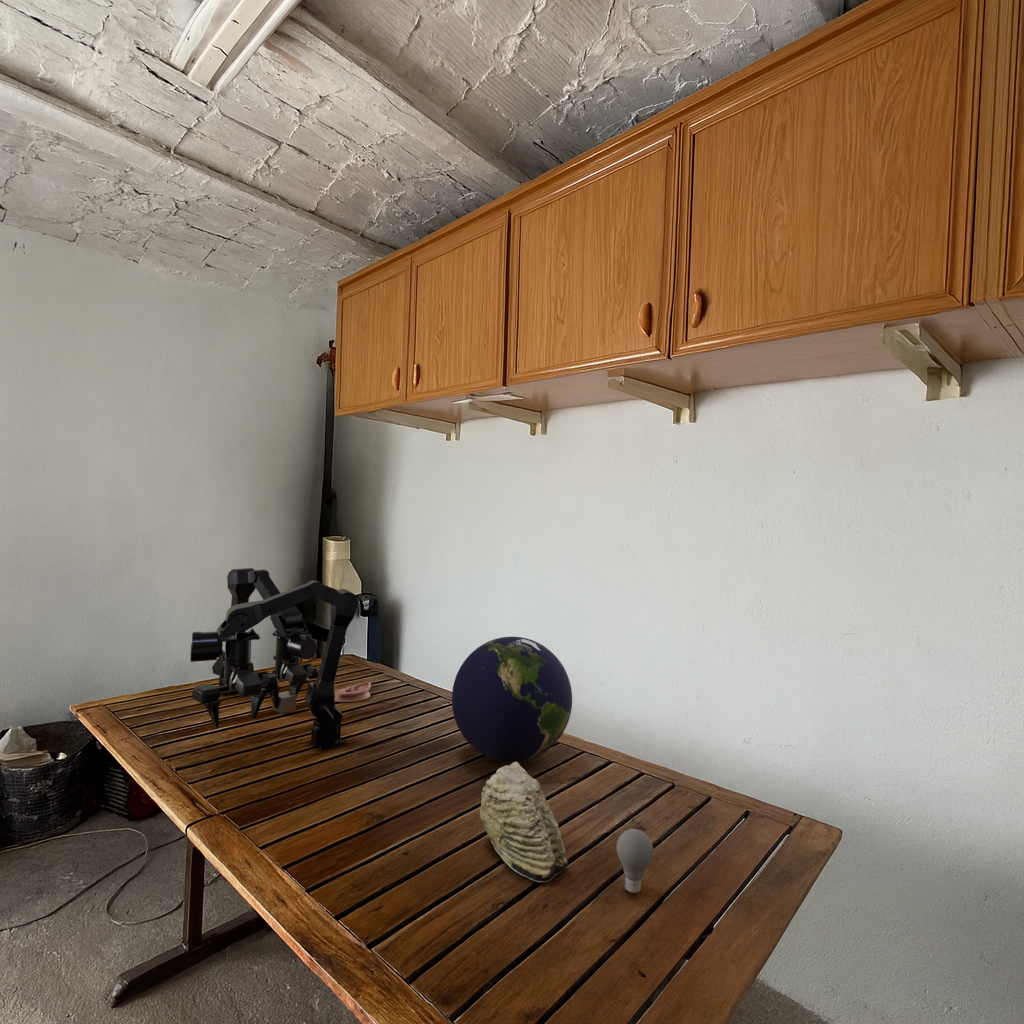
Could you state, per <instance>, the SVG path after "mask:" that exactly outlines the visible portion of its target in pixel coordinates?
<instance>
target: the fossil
mask: <svg viewBox="0 0 1024 1024" xmlns="http://www.w3.org/2000/svg"><path fill="white" fill-rule="evenodd" d="M479 819H480V820H481V822H482V823H483V827H484V829H485V832H486V833H487V836H488V838H489V840H490V842H491V844H492V845H493V848H494V850H495V852H496V853H497V854H498V856H500V858H501V859H502V861H503V862H504V863H505V864H506V865H507V867H509V868H510V869H511V870H513V871H514V873H517V874H519V875H520V876H522V877H525V878H527V879H528V880H531V881H533V882H536V883H548V882H550V881H552V880H553V879H554V878H555V877H556V876H557V875H560V874H561V873H563V872H564V871H565V870H566V868H567V867H568V866H569V863H568V859H567V856H566V848H565V847H564V841H563V838H562V834H561V831H560V826H559V824H558V822H557V821H556V818H555V817H554V813H553V811H552V810H551V807H550V805H549V803H548V802H547V799H546V796H545V794H544V790H543V789H542V786H541V784H540V781H539V780H537V779H535V778H533V777H532V776H531V775H529V773H528V772H527V771H526V769H524V768H523V766H521V764H520V762H511V763H510V764H509V765H507V764H506V765H504V766H502V767H500V768H498V769H497V770H496V772H495V773H494V774H492V775H491V776H490V778H489V779H487V780H486V782H485V786H483V788H482V792H481V802H480V808H479Z"/></svg>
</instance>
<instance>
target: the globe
mask: <svg viewBox="0 0 1024 1024" xmlns="http://www.w3.org/2000/svg"><path fill="white" fill-rule="evenodd" d="M568 675H569V674H568V673H567V671H566V669H565V667H564V665H563V663H562V662H561V661H560V659H559V658H558V657H557V656H556V655H555V654H554V652H553V651H551V650H550V649H549V648H547V647H546V646H545V645H543V644H542V643H539V642H538V641H536V640H533V639H531V638H527V637H522V636H502V637H497V638H494V639H491V640H488V641H487V642H484V643H483V644H481V645H479V646H478V647H476V648H475V649H474V650H473V651H471V653H470V654H469V655H468V656H467V657H466V658H465V660H464V661H463V662H462V664H461V665H460V667H459V669H458V671H457V672H456V676H455V679H454V681H453V686H452V691H451V707H452V712H453V714H452V715H453V717H454V721H455V723H456V726H457V728H458V730H459V732H460V734H461V735H462V737H463V738H464V740H465V741H466V742H467V743H468V744H469V746H470V747H472V748H473V749H474V750H476V751H477V752H478V753H480V754H481V755H483V756H484V757H487V758H489V759H492V760H495V761H498V762H504V763H514V762H518V763H522V762H526V761H530V760H532V759H535V758H537V757H540V756H541V755H543V754H544V753H546V752H548V750H550V749H551V748H552V747H554V745H556V743H557V742H558V741H559V739H560V738H561V737H562V736H563V734H564V732H565V730H566V728H567V726H568V724H569V721H570V718H571V714H572V709H573V691H572V684H571V681H570V678H569V676H568Z"/></svg>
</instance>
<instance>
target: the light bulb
mask: <svg viewBox="0 0 1024 1024" xmlns="http://www.w3.org/2000/svg"><path fill="white" fill-rule="evenodd" d="M615 849H616V854H617V857H618V859H619V861H620V863H621V865H622V867H623V873H624V874H623V875H624V876H625V878H624V888H625V890H627V891H628V892H630V893H634V894H635V893H639V892H640V891H641V889H642V887H641V886H642V879H643V877H644V875H645V871H646V868H647V867H648V866H649V864H650V863H651V861H652V859H653V855H654V847H653V843H652V841H651V838H649V836H648V835H647V834H646V833H645V832H643V831H642V830H641V829H636V828H629V829H627V830H625V831H623V832H622V833H621V834H620V835H619V837H618V839H617V841H616V847H615Z"/></svg>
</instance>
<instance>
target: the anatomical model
mask: <svg viewBox="0 0 1024 1024" xmlns="http://www.w3.org/2000/svg"><path fill="white" fill-rule="evenodd" d="M371 686H372V684H371V681H365V682H364V681H363V682H361V683H357V684H353V685H350V686H347V687H344V688H339V689H337V690H335V701H334V703H350V702H359V701H364V700H367V699H369V698H370V697H371V693H370V691H369V690H370V689H371V688H372V687H371Z"/></svg>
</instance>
